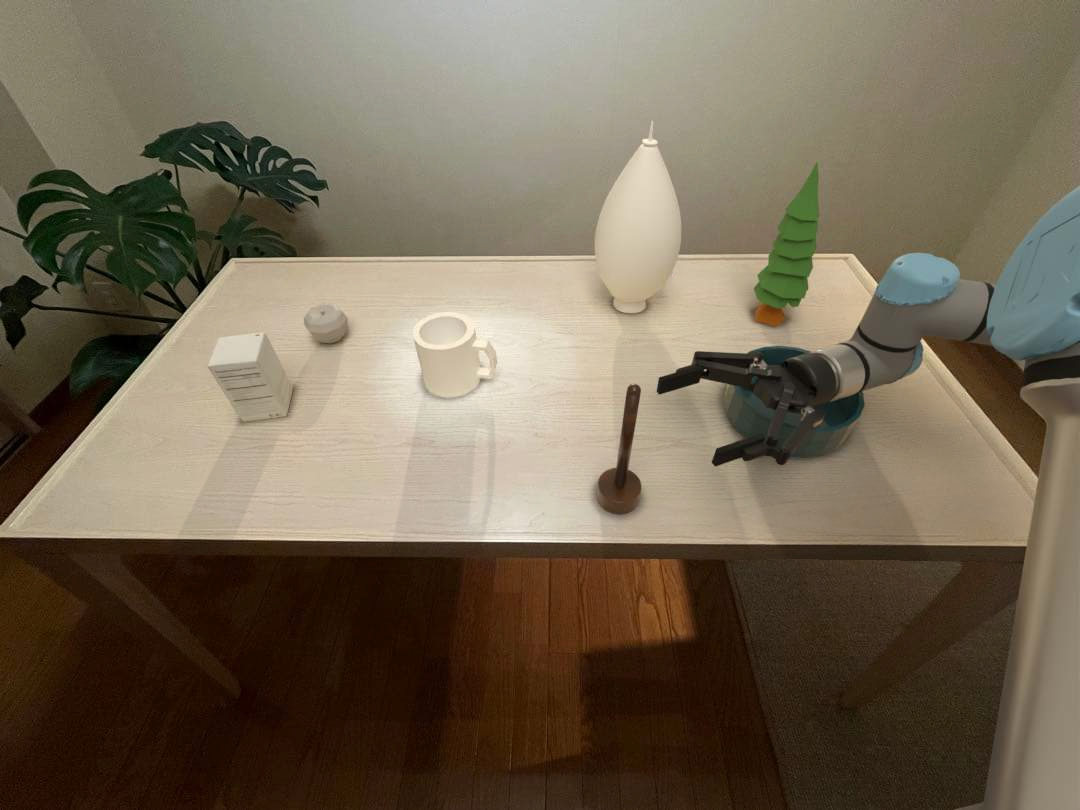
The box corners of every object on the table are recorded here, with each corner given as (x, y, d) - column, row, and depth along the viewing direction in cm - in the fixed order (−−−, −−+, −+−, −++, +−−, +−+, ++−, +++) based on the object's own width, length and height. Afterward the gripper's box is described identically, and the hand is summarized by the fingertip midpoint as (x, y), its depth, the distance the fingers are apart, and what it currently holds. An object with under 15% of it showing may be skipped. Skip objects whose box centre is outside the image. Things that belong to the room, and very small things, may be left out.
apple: (309, 353, 99) (297, 326, 94) (312, 329, 104) (301, 301, 100) (353, 347, 100) (343, 319, 95) (353, 323, 105) (344, 295, 101)
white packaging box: (251, 392, 92) (217, 335, 83) (294, 387, 92) (266, 330, 83) (241, 423, 86) (204, 366, 77) (287, 417, 87) (256, 360, 78)
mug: (504, 363, 96) (500, 315, 88) (492, 402, 89) (486, 354, 81) (433, 356, 98) (423, 309, 90) (416, 394, 90) (403, 346, 83)
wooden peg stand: (646, 506, 74) (671, 395, 58) (608, 520, 72) (623, 410, 56) (626, 474, 78) (645, 363, 62) (590, 487, 76) (599, 375, 60)
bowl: (876, 436, 82) (894, 409, 78) (773, 473, 77) (786, 447, 73) (793, 361, 95) (804, 335, 90) (700, 389, 90) (707, 363, 86)
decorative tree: (743, 302, 108) (790, 150, 86) (790, 304, 107) (849, 151, 86) (752, 331, 101) (805, 174, 80) (802, 333, 100) (870, 175, 79)
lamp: (586, 284, 114) (596, 106, 89) (659, 281, 114) (688, 103, 89) (596, 329, 102) (609, 139, 78) (676, 325, 103) (715, 135, 78)
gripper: (875, 460, 67) (736, 511, 62) (754, 346, 84) (636, 380, 79) (902, 420, 62) (753, 474, 57) (767, 307, 78) (642, 341, 73)
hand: (685, 419), depth 68 cm, fingers open, 13 cm apart
